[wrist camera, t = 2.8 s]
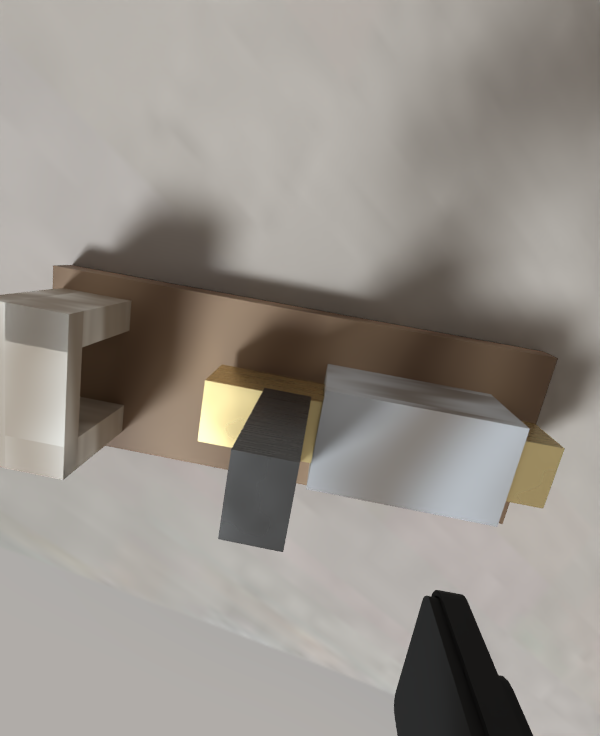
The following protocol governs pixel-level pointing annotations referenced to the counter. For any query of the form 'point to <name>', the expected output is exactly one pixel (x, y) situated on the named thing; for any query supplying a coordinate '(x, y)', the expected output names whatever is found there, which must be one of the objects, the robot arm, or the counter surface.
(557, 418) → the counter surface
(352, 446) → the sliding bolt latch
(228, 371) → the brass bolt with handle
